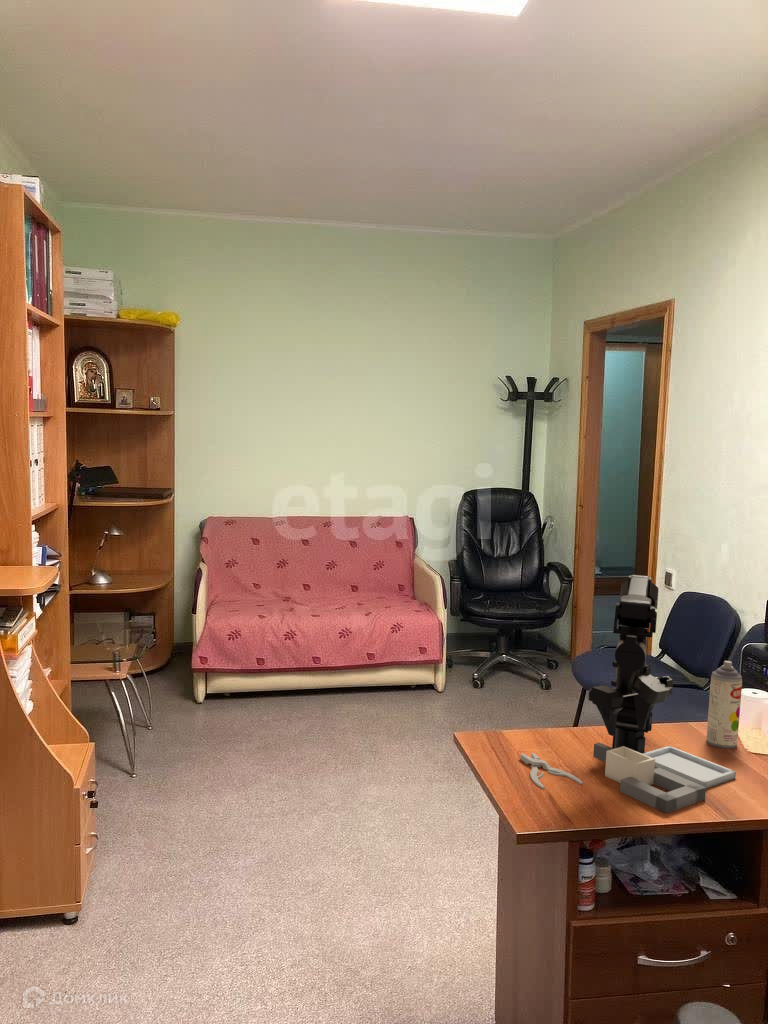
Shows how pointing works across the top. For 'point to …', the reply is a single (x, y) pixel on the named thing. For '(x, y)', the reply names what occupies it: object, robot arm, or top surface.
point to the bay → (677, 798)
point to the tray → (690, 766)
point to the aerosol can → (724, 707)
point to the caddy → (625, 763)
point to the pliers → (539, 763)
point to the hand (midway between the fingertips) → (626, 731)
